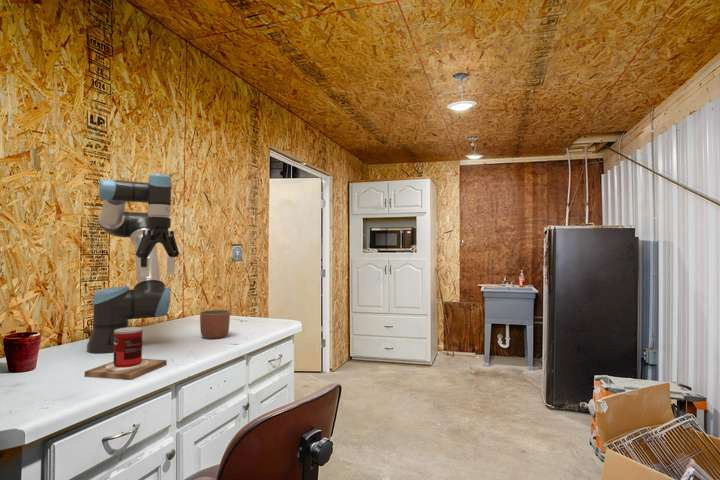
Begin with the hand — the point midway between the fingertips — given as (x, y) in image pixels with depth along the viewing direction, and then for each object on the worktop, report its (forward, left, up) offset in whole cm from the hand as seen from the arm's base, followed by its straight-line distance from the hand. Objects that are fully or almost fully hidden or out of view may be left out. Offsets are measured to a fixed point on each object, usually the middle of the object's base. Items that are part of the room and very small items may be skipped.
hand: (158, 275), depth 148 cm
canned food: (+3, -18, -27) cm, 33 cm away
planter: (+4, +32, -29) cm, 43 cm away
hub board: (+3, -18, -29) cm, 34 cm away
